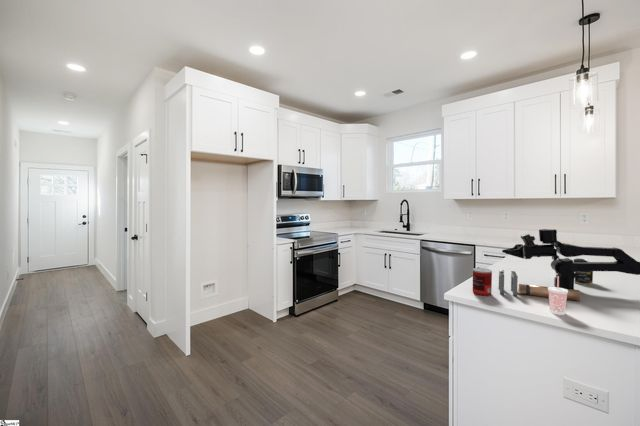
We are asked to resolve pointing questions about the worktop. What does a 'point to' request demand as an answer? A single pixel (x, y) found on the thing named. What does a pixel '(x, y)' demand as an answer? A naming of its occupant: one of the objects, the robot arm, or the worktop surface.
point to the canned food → (482, 281)
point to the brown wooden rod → (546, 291)
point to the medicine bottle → (583, 275)
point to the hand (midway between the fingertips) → (503, 251)
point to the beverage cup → (557, 299)
